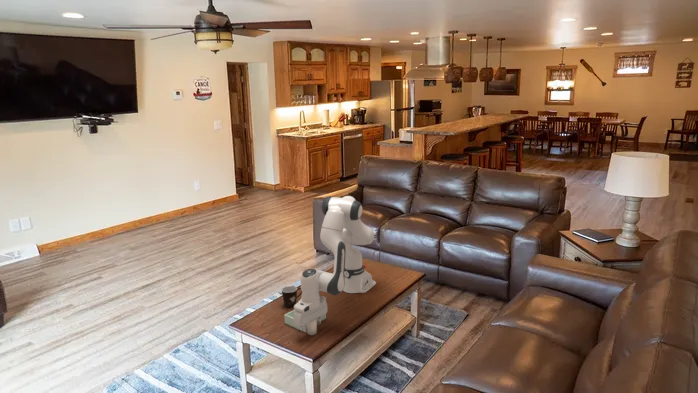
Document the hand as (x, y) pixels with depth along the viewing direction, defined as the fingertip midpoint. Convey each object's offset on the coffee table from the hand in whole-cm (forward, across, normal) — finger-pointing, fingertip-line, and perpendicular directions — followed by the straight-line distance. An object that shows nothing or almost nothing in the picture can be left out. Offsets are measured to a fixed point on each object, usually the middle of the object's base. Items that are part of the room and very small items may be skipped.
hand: (311, 327), depth 238 cm
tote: (+3, -6, -11) cm, 13 cm away
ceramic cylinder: (+3, 0, 0) cm, 3 cm away
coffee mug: (+3, -14, -30) cm, 33 cm away
